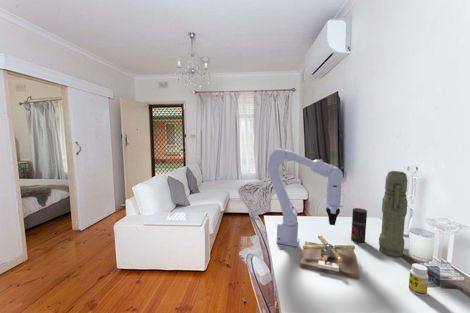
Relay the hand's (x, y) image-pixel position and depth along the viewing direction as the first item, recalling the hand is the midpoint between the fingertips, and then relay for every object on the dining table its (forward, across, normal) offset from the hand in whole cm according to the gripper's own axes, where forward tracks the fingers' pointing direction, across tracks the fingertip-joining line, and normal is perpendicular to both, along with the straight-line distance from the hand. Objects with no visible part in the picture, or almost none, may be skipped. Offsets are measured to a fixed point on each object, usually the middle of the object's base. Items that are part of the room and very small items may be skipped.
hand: (332, 224), depth 107 cm
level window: (+9, -21, +1) cm, 23 cm away
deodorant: (+11, +12, -12) cm, 20 cm away
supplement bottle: (+11, -22, -26) cm, 36 cm away
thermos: (+11, +5, -24) cm, 27 cm away
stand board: (+10, -12, +1) cm, 16 cm away
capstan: (+9, -12, +1) cm, 15 cm away
